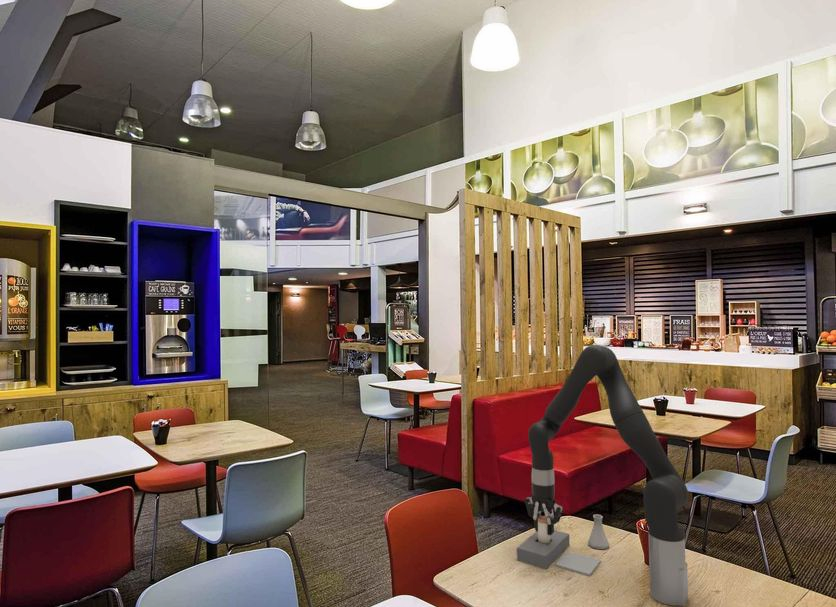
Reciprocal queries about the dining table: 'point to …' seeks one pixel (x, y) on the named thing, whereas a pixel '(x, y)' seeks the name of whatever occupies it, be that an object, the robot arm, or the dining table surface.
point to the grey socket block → (543, 549)
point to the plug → (543, 530)
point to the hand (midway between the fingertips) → (544, 532)
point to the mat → (578, 563)
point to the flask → (598, 534)
